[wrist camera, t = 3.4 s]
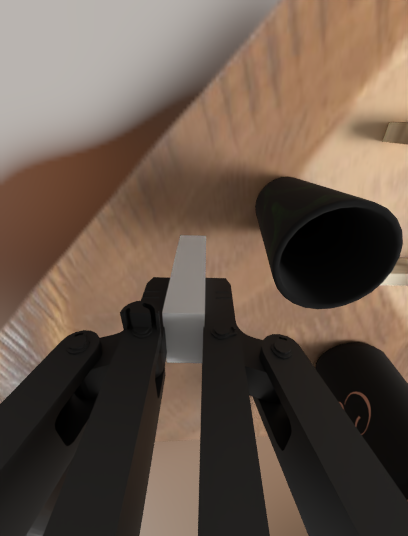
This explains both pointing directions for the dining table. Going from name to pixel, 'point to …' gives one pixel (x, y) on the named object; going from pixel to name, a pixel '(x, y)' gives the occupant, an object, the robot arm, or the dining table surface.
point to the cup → (325, 242)
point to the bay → (404, 270)
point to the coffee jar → (372, 402)
